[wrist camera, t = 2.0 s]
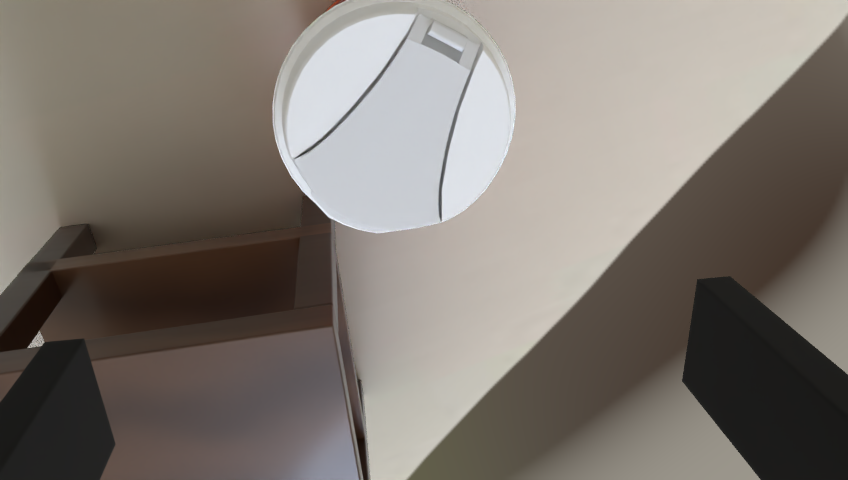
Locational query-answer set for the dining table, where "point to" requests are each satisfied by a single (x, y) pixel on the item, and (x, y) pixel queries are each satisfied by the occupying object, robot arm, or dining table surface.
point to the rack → (204, 351)
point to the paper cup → (393, 112)
